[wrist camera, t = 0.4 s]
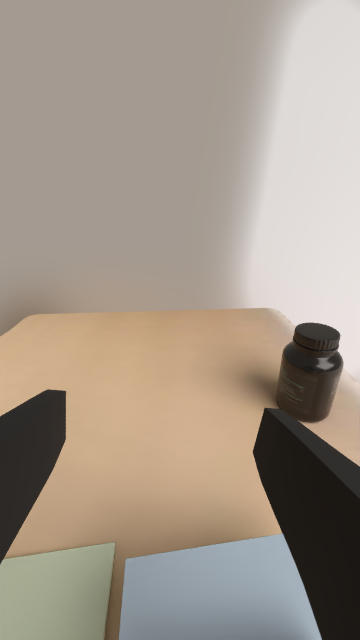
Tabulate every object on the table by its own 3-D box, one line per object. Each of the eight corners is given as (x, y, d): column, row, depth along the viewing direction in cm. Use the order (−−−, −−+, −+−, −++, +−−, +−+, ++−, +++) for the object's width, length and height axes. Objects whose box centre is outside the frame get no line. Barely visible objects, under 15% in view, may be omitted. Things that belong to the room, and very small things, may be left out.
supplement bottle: (307, 384, 37) (322, 316, 31) (341, 419, 30) (367, 340, 25) (267, 391, 36) (275, 322, 31) (293, 428, 30) (309, 349, 25)
